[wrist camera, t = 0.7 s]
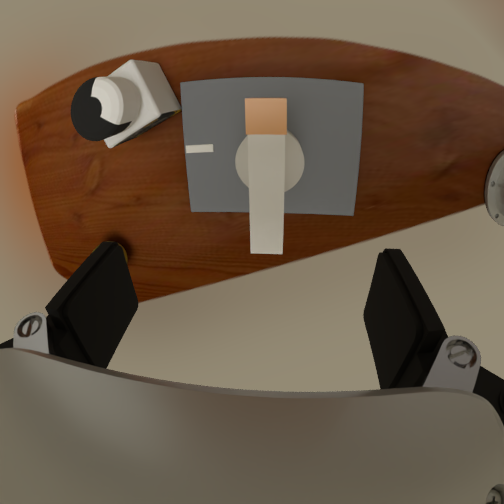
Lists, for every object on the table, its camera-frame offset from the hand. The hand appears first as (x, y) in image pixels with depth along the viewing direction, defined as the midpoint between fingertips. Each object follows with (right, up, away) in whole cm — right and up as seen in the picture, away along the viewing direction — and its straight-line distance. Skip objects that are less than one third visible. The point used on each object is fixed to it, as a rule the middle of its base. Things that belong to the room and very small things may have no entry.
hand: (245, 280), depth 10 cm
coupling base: (+3, +13, +22) cm, 26 cm away
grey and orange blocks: (+2, +10, +17) cm, 20 cm away
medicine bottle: (-12, +19, +20) cm, 31 cm away
